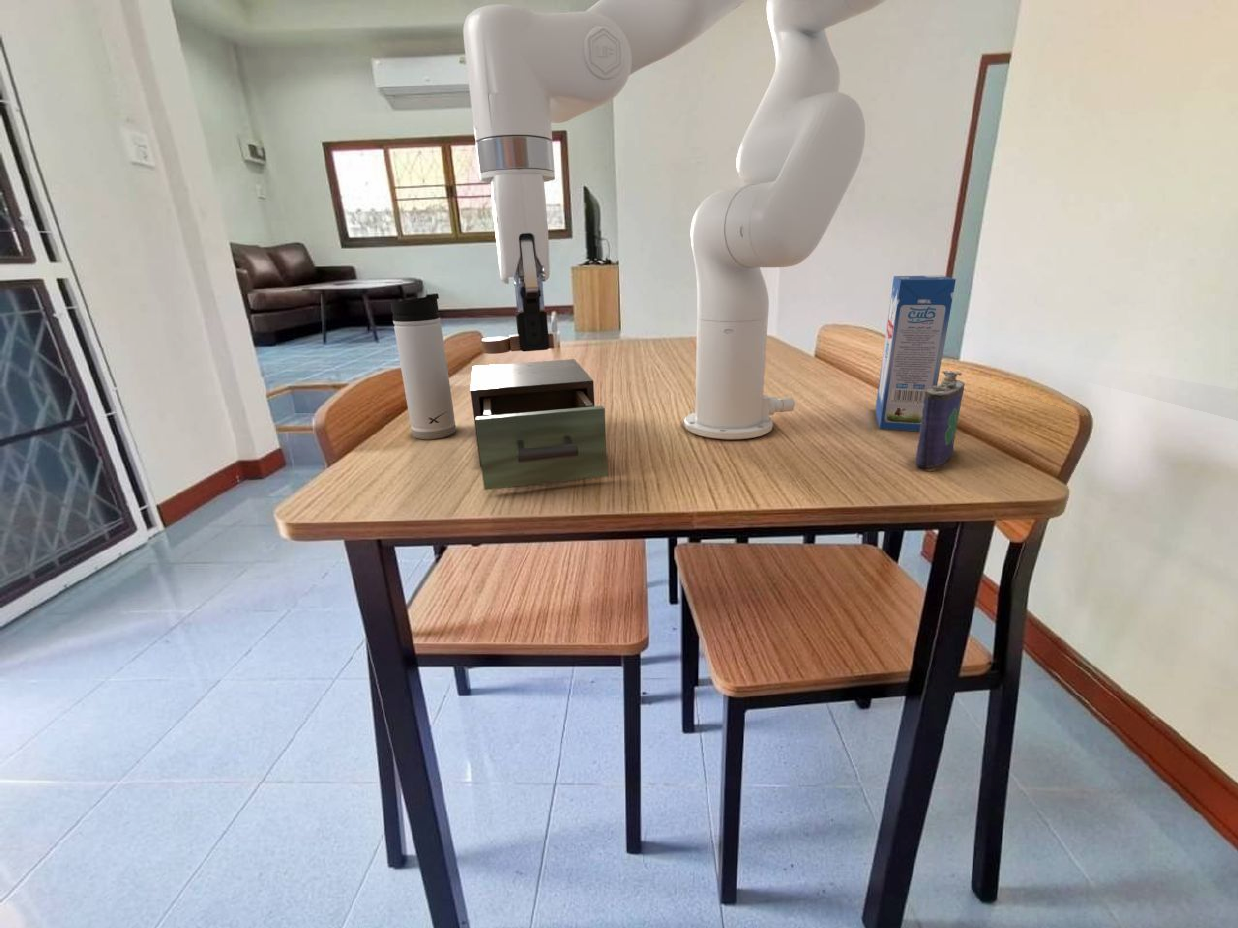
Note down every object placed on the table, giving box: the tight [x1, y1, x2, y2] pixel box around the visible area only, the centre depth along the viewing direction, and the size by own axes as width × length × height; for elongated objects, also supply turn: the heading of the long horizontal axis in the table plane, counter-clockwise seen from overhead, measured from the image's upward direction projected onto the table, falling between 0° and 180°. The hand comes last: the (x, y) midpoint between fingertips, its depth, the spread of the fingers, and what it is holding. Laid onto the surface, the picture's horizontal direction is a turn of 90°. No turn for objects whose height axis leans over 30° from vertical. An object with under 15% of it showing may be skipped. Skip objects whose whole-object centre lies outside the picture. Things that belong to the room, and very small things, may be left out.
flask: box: [913, 370, 966, 472], centre depth 65 cm, size 9×3×11 cm, turn 138°
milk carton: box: [875, 274, 957, 432], centre depth 79 cm, size 10×6×20 cm, turn 160°
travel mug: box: [390, 292, 457, 440], centre depth 80 cm, size 6×7×20 cm
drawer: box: [475, 389, 608, 491], centre depth 65 cm, size 20×14×8 cm
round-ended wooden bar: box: [481, 331, 555, 355], centre depth 62 cm, size 8×3×2 cm, turn 102°
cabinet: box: [469, 358, 596, 468], centre depth 76 cm, size 16×15×10 cm
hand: (534, 347), depth 63 cm, fingers closed on round-ended wooden bar, 1 cm apart
